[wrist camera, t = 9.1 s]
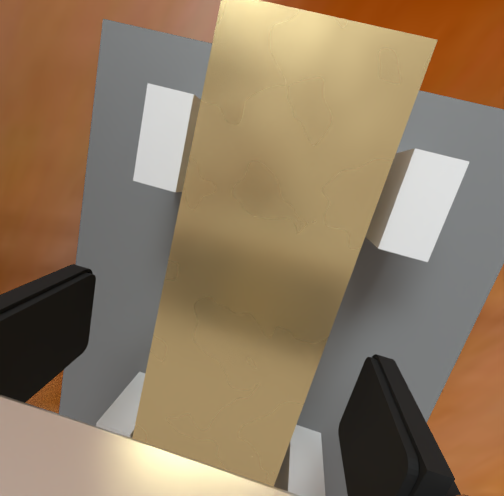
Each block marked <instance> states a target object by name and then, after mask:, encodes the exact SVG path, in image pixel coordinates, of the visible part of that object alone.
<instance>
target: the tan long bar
mask: <svg viewBox="0 0 504 496" xmlns="http://www.w3.org/2000/svg"><path fill="white" fill-rule="evenodd" d="M436 43H437V40H436V39H431V38H427V37H422V36H418V35H413V34H409V33H404V32H400V31H395V30H391V29H386V28H382V27H377V26H373V25H368V24H364V23H359V22H355V21H350V20H346V19H341V18H337V17H332V16H328V15H323V14H319V13H314V12H310V11H305V10H301V9H296V8H292V7H287V6H283V5H278V4H274V3H269V2H265V1H260V0H221V3H220V8H219V13H218V18H217V23H216V28H215V33H214V38H213V43H212V48H211V52H210V57H209V62H208V67H207V72H206V77H205V82H204V87H203V92H202V97H201V102H200V107H199V112H198V117H197V122H196V127H195V131H194V136H193V141H192V146H191V151H190V156H189V161H188V166H187V171H186V176H185V181H184V186H183V191H182V196H181V201H180V205H179V210H178V215H177V220H176V225H175V230H174V235H173V240H172V245H171V250H170V255H169V260H168V265H167V270H166V275H165V279H164V284H163V289H162V294H161V299H160V304H159V309H158V314H157V319H156V324H155V329H154V334H153V339H152V344H151V349H150V354H149V358H148V363H147V368H146V373H145V378H144V383H143V388H142V393H141V398H140V403H139V408H138V413H137V418H136V423H135V428H134V432H133V437H132V438H133V439H136V440H139V441H142V442H145V443H148V444H150V445H153V446H156V447H159V448H162V449H165V450H168V451H171V452H174V453H177V454H180V455H183V456H186V457H189V458H192V459H195V460H198V461H201V462H204V463H207V464H210V465H213V466H215V467H218V468H221V469H224V470H227V471H230V472H233V473H236V474H239V475H242V476H245V477H247V478H250V479H253V480H256V481H259V482H262V483H265V484H268V485H271V486H274V484H275V481H276V479H277V476H278V473H279V470H280V468H281V465H282V462H283V460H284V457H285V454H286V451H287V449H288V446H289V443H290V440H291V438H292V435H293V432H294V430H295V427H296V424H297V421H298V419H299V416H300V413H301V411H302V408H303V405H304V402H305V400H306V397H307V394H308V391H309V389H310V386H311V383H312V381H313V378H314V375H315V372H316V370H317V367H318V364H319V361H320V359H321V356H322V353H323V351H324V348H325V345H326V342H327V340H328V337H329V334H330V331H331V329H332V326H333V323H334V321H335V318H336V315H337V312H338V310H339V307H340V304H341V302H342V299H343V296H344V293H345V291H346V288H347V285H348V282H349V280H350V277H351V274H352V272H353V269H354V266H355V263H356V261H357V258H358V255H359V252H360V250H361V247H362V244H363V242H364V239H365V236H366V233H367V231H368V228H369V225H370V223H371V220H372V217H373V214H374V212H375V209H376V206H377V203H378V201H379V198H380V195H381V193H382V190H383V187H384V184H385V182H386V179H387V176H388V173H389V171H390V168H391V165H392V163H393V160H394V157H395V154H396V152H397V149H398V146H399V144H400V141H401V138H402V135H403V133H404V130H405V127H406V124H407V122H408V119H409V116H410V114H411V111H412V108H413V105H414V103H415V100H416V97H417V94H418V92H419V89H420V86H421V84H422V81H423V78H424V75H425V73H426V70H427V67H428V64H429V62H430V59H431V56H432V54H433V51H434V48H435V45H436Z"/></svg>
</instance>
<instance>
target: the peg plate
mask: <svg viewBox="0 0 504 496" xmlns="http://www.w3.org/2000/svg"><path fill="white" fill-rule="evenodd" d="M211 48H212V43H207V42H203V41H198V40H194V39H190V38H185V37H181V36H176V35H172V34H168V33H163V32H159V31H154V30H150V29H145V28H141V27H137V26H132V25H128V24H123V23H119V22H115V21H110V20H106V19H103V24H102V33H101V42H100V51H99V60H98V69H97V77H96V86H95V95H94V104H93V113H92V122H91V131H90V140H89V149H88V158H87V167H86V176H85V185H84V194H83V203H82V212H81V221H80V230H79V238H78V247H77V256H76V265H78V266H82V267H85V268H88V269H91V270H92V273H93V274H94V275H95V277H96V283H95V291H94V300H93V308H92V317H91V325H90V334H89V342H88V345H87V348H86V350H85V351H84V352H83V353H82V354H81V355H80V356H79V357H78V358H76V359H75V360H74V361H73V362H72V363H71V364H69V365H68V366H67V367H66V368H65V369H64V373H63V382H62V391H61V400H60V408H59V414H61V415H64V416H67V417H70V418H73V419H76V420H79V421H82V422H85V423H88V424H91V425H94V426H97V427H100V428H103V429H106V430H109V431H112V432H115V433H118V434H121V435H124V436H127V437H130V438H132V437H133V432H134V428H135V423H136V418H137V413H138V408H139V403H140V398H141V393H142V388H143V383H144V378H145V373H146V368H147V363H148V358H149V354H150V349H151V344H152V339H153V334H154V329H155V324H156V319H157V314H158V309H159V304H160V299H161V294H162V289H163V284H164V279H165V275H166V270H167V265H168V260H169V255H170V250H171V245H172V240H173V235H174V230H175V225H176V220H177V215H178V210H179V205H180V201H181V196H182V191H183V186H184V181H185V176H186V171H187V166H188V161H189V156H190V151H191V146H192V141H193V136H194V131H195V127H196V122H197V117H198V112H199V107H200V102H201V97H202V92H203V87H204V82H205V77H206V72H207V67H208V62H209V57H210V52H211ZM503 264H504V110H503V109H499V108H494V107H490V106H485V105H481V104H477V103H472V102H468V101H463V100H459V99H454V98H450V97H446V96H441V95H437V94H432V93H428V92H424V91H419V92H418V94H417V97H416V100H415V103H414V105H413V108H412V111H411V114H410V116H409V119H408V122H407V124H406V127H405V130H404V133H403V135H402V138H401V141H400V144H399V146H398V149H397V152H396V154H395V157H394V160H393V163H392V165H391V168H390V171H389V173H388V176H387V179H386V182H385V184H384V187H383V190H382V193H381V195H380V198H379V201H378V203H377V206H376V209H375V212H374V214H373V217H372V220H371V223H370V225H369V228H368V231H367V233H366V236H365V239H364V242H363V244H362V247H361V250H360V252H359V255H358V258H357V261H356V263H355V266H354V269H353V272H352V274H351V277H350V280H349V282H348V285H347V288H346V291H345V293H344V296H343V299H342V302H341V304H340V307H339V310H338V312H337V315H336V318H335V321H334V323H333V326H332V329H331V331H330V334H329V337H328V340H327V342H326V345H325V348H324V351H323V353H322V356H321V359H320V361H319V364H318V367H317V370H316V372H315V375H314V378H313V381H312V383H311V386H310V389H309V391H308V394H307V397H306V400H305V402H304V405H303V408H302V411H301V413H300V416H299V419H298V421H297V424H296V427H295V430H294V432H293V435H292V438H291V440H290V443H289V446H288V449H287V451H286V454H285V457H284V460H283V462H282V465H281V468H280V470H279V473H278V476H277V479H276V481H275V484H274V487H277V488H279V489H282V490H285V491H288V492H291V493H294V494H297V495H300V496H348V494H347V488H346V481H345V475H344V468H343V462H342V455H341V449H340V442H339V436H338V429H339V423H340V421H341V418H342V416H343V413H344V411H345V408H346V406H347V403H348V401H349V398H350V396H351V394H352V391H353V389H354V386H355V384H356V381H357V379H358V376H359V374H360V371H361V369H362V367H363V364H364V362H365V360H366V358H367V357H371V358H372V356H373V355H375V354H377V355H380V356H384V357H387V358H390V359H393V360H394V361H395V362H396V364H397V366H398V368H399V370H400V372H401V374H402V376H403V378H404V380H405V382H406V384H407V386H408V388H409V389H410V391H411V393H412V395H413V397H414V399H415V401H416V403H417V405H418V407H419V409H420V411H421V413H422V415H423V417H424V419H425V421H426V423H427V421H428V419H429V417H430V414H431V412H432V410H433V408H434V406H435V404H436V402H437V400H438V398H439V396H440V394H441V392H442V390H443V388H444V386H445V383H446V381H447V379H448V377H449V375H450V373H451V371H452V369H453V367H454V365H455V363H456V361H457V359H458V357H459V355H460V352H461V350H462V348H463V346H464V344H465V342H466V340H467V338H468V336H469V334H470V332H471V330H472V328H473V326H474V324H475V321H476V319H477V317H478V315H479V313H480V311H481V309H482V307H483V305H484V303H485V301H486V299H487V297H488V295H489V293H490V290H491V288H492V286H493V284H494V282H495V280H496V278H497V276H498V274H499V272H500V270H501V268H502V266H503Z"/></svg>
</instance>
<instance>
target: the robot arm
mask: <svg viewBox="0 0 504 496" xmlns="http://www.w3.org/2000/svg"><path fill="white" fill-rule="evenodd" d="M95 283H96V277H95V275H94V274H93V273H92V270H91V269H88V268H85V267H82V266H78V265H75V264H73V265H70V266H67V267H65V268H63V269H60V270H58V271H56V272H53V273H51V274H49V275H46V276H44V277H41V278H39V279H37V280H34V281H32V282H30V283H27V284H25V285H23V286H20V287H18V288H15V289H13V290H11V291H8V292H6V293H4V294H1V295H0V496H300V495H297V494H294V493H291V492H288V491H285V490H282V489H279V488H277V487H274V486H271V485H268V484H265V483H262V482H259V481H256V480H253V479H250V478H247V477H245V476H242V475H239V474H236V473H233V472H230V471H227V470H224V469H221V468H218V467H215V466H213V465H210V464H207V463H204V462H201V461H198V460H195V459H192V458H189V457H186V456H183V455H180V454H177V453H174V452H171V451H168V450H165V449H162V448H159V447H156V446H153V445H150V444H148V443H145V442H142V441H139V440H136V439H133V438H130V437H127V436H124V435H121V434H118V433H115V432H112V431H109V430H106V429H103V428H100V427H97V426H94V425H91V424H88V423H85V422H82V421H79V420H76V419H73V418H70V417H67V416H64V415H61V414H57V413H54V412H51V411H48V410H45V409H42V408H39V407H36V406H33V405H30V404H27V403H25V402H26V401H27V400H29V399H30V398H31V397H32V396H33V395H34V394H36V393H37V392H38V391H39V390H40V389H41V388H43V387H44V386H45V385H46V384H47V383H48V382H50V381H51V380H52V379H53V378H54V377H55V376H57V375H58V374H59V373H60V372H61V371H62V370H64V369H65V368H66V367H67V366H68V365H69V364H71V363H72V362H73V361H74V360H75V359H76V358H78V357H79V356H80V355H81V354H82V353H83V352H84V351H85V350H86V348H87V345H88V342H89V334H90V325H91V317H92V308H93V300H94V291H95ZM338 436H339V442H340V449H341V455H342V462H343V468H344V475H345V481H346V488H347V494H348V496H468V495H461V494H460V492H459V490H458V488H457V486H456V484H455V482H454V480H455V478H454V476H453V474H452V472H451V470H450V468H449V466H448V464H447V462H446V460H445V458H444V456H443V454H442V452H441V450H440V449H439V447H438V445H437V443H436V441H435V439H434V437H433V435H432V433H431V431H430V429H429V427H428V425H427V423H426V421H425V419H424V417H423V415H422V413H421V411H420V409H419V407H418V405H417V403H416V401H415V399H414V397H413V395H412V393H411V391H410V389H409V388H408V386H407V384H406V382H405V380H404V378H403V376H402V374H401V372H400V370H399V368H398V366H397V364H396V362H395V361H394V360H393V359H390V358H387V357H384V356H380V355H377V354H375V355H373V356H372V358H371V357H367V358H366V360H365V362H364V364H363V367H362V369H361V371H360V374H359V376H358V379H357V381H356V384H355V386H354V389H353V391H352V394H351V396H350V398H349V401H348V403H347V406H346V408H345V411H344V413H343V416H342V418H341V421H340V423H339V429H338Z"/></svg>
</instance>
